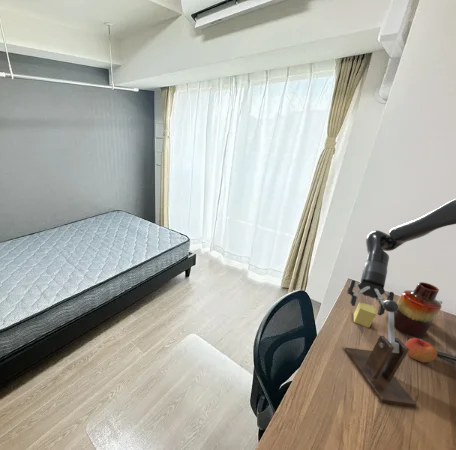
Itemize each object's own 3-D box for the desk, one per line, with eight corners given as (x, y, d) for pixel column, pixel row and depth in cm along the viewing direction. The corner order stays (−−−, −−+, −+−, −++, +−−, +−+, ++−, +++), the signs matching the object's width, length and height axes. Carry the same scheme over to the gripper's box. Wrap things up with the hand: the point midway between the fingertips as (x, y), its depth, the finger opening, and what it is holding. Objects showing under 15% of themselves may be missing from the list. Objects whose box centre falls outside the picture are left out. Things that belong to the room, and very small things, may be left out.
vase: (427, 342, 93) (454, 299, 85) (389, 328, 98) (411, 287, 91) (421, 326, 101) (445, 285, 93) (386, 314, 106) (406, 274, 99)
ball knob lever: (379, 298, 78) (389, 300, 74) (391, 299, 77) (401, 301, 74) (380, 348, 76) (390, 352, 72) (393, 350, 75) (403, 354, 72)
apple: (432, 371, 81) (444, 354, 78) (403, 359, 85) (413, 342, 82) (427, 356, 87) (438, 340, 84) (400, 345, 91) (409, 329, 88)
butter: (367, 320, 102) (374, 306, 99) (368, 328, 98) (376, 314, 95) (353, 315, 105) (359, 301, 102) (353, 322, 101) (360, 308, 98)
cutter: (344, 350, 88) (358, 318, 82) (370, 354, 87) (387, 322, 81) (380, 402, 71) (402, 367, 65) (414, 407, 70) (439, 372, 64)
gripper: (355, 265, 105) (347, 300, 100) (400, 277, 97) (392, 316, 93) (351, 270, 111) (342, 304, 106) (392, 282, 103) (385, 319, 99)
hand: (366, 309), depth 99 cm, fingers open, 8 cm apart
